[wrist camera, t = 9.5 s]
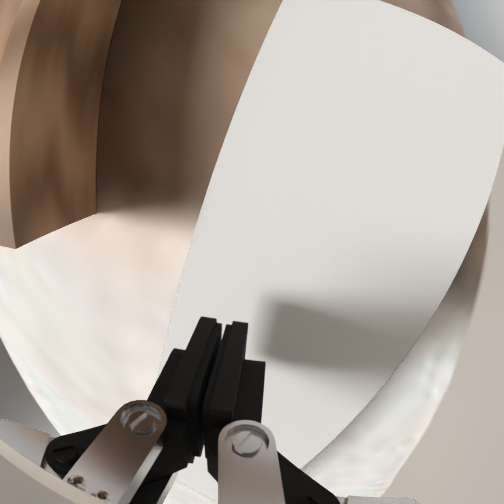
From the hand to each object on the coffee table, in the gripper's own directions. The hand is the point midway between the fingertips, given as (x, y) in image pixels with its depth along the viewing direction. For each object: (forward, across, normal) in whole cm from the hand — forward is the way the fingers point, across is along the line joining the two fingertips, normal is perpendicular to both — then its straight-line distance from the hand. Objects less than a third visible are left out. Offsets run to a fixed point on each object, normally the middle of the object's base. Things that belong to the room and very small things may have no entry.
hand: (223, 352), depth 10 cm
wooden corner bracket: (+5, +5, -12) cm, 14 cm away
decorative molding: (+5, -2, +3) cm, 6 cm away
